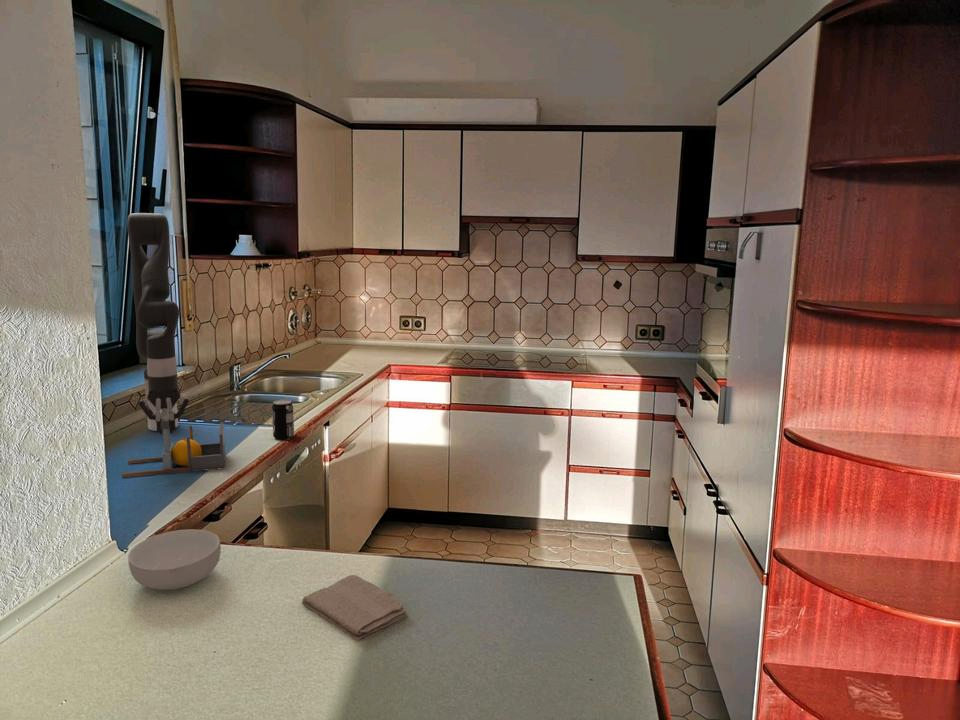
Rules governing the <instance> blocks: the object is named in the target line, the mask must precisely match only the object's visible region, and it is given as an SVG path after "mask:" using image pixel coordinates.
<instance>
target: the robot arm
mask: <svg viewBox="0 0 960 720" xmlns="http://www.w3.org/2000/svg"><path fill="white" fill-rule="evenodd" d="M126 222H127V223H126V225H127V226H126V227H127V228H126V229H127V236H128V242H129V243H128V244H129V251H130V257H131V264H132V265H131V270H132V290H133V291H132V292H133V300H134V307H135V319H136V321H135V325H136V326H135V327H136V328H135V329H136V331H135V333H136V334H135V336H136V337H135V338H136V339H135V343H136V350H137V355H138V356H139V357H140V358H142V359H147V361H146V362H147V363H146V369H145V370H144V372H143V378H144V379H143V380H144V381H143V382H144V388H145V389H144V390H145V397H144V398H143V399H141V398H140V400H139V401H138V405H139V407H140V409H141V410H142V411H143V413H144V414H145V415H146V417H147V429H148V430H150V431H154V432H157V433H159V435H163V429H161V424H160V423H161V420H162V418H163V416H169V418H170V420H169V426H170V434H173V433H174V432H175V431H176V428H178V427H179V418H181V417H182V415H183V413H184V411H185V410H186V408H187V406H188V404H189V402H190V397H189V396H184V395H181V392H180V390H179V381H178V379H179V378H178V365H177V360H176V352H175V351H176V349H175V335H176V331H177V330H176V329H177V325H178V323H179V317H180V309H179V306H178V305H177V303H176V302H174V301H172V300H168V298H169V297H170V293H171V288H170V279H169V260H170V259H169V258H170V225H169V221H168V217H167V216H166V215H165V214H164V213H163V214H162V213H157V212H156V213H152V212H149V213H147V212H134V213H130V214H128V216H127V221H126ZM143 246H157V247H156V249H155V251H154V252H153V254H152V255H151V257H150V258H149V257H148V256H147V254H146V253H145V251H144V248H143ZM164 327H165V328H164ZM149 328H161V329H149ZM178 401H179V404H180V407H179V409H178V405H177V402H178Z"/></svg>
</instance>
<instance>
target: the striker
mask: <svg viewBox="0 0 960 720" xmlns="http://www.w3.org/2000/svg"><path fill="white" fill-rule="evenodd" d="M169 420H170V418H169V416H163V418H162V420H161V423H160V424H161V429H163V434H162V437H163V450H162V454H161V457H163V461H162V465H163V469H173V466H174V464H175V462H174V460H173V458H172V451H173V448H174V443H173V442H172V439H171V433H170V426H169Z"/></svg>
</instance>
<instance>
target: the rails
mask: <svg viewBox="0 0 960 720" xmlns="http://www.w3.org/2000/svg"><path fill="white" fill-rule="evenodd" d="M153 461H158V462H163V456H158V457H147V458H146V457H145V458H136V459H135V458H134V459H127V464H128V463H129V464H128V465H132V464H131V463H135V464H143V463H142V462H146V463H154V462H153ZM187 471H189V466H184V467H175V468H172V469H153V470H151V469H150V470H142V471H130V472H122V473H121V478H132V477H133V478H134V477H141V476H143V477H144V476H152V475H154V476H155V475H166V473H167V474H176V473H177V472H178V473H187ZM189 472H190V471H189Z"/></svg>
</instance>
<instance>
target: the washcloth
mask: <svg viewBox="0 0 960 720" xmlns="http://www.w3.org/2000/svg"><path fill="white" fill-rule="evenodd" d="M301 602H302V603H301V604H302V605H303V606H304V607H305V608H307V609H308V610H310V611H311V612H313V613H315V614H316V615H318V616H320V617H321V618H322V619H324V620H325V621H327V622H329V624H332V625H334V627H336V628H338V629H339V630H341V631H342V632H343V633H345V634H346V635H348V636H350V637H351V638H352V639H353V640H355V641H357V642H360V641H361V639H367V638H370V637H372V636H374V635H377V634H378V633H380V632H383V630H385V629H387V628H389V627H391V626H393V625H395V624H397V623H399V622H401V621H403V620H404V619H406V618H407V617H408V613H407V610H405V609H404V608H403V606H404V603H403V602H401V601H399V600H398V599H396V598H395V597H394V596H393V595H392V593H391V592H390V591H388V590H385V589H382V588H380V587H378V586H377V585H376V584H374V583H372V582H371V581H368V580H366V579H364V578H362V577H360V576H358V575H356V574H350V575H347V576H345V577H344V578H342V579H339V580H338V581H336V582H335V583H334V584H331V585H329V586H328V587H323V588H320V589H317V590H316V591H313V592H312V593H309V594H307V595H305V596H303V598H302V601H301Z"/></svg>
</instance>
